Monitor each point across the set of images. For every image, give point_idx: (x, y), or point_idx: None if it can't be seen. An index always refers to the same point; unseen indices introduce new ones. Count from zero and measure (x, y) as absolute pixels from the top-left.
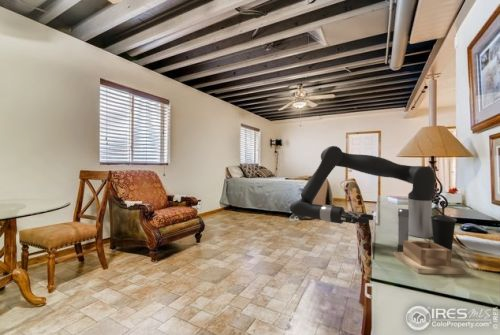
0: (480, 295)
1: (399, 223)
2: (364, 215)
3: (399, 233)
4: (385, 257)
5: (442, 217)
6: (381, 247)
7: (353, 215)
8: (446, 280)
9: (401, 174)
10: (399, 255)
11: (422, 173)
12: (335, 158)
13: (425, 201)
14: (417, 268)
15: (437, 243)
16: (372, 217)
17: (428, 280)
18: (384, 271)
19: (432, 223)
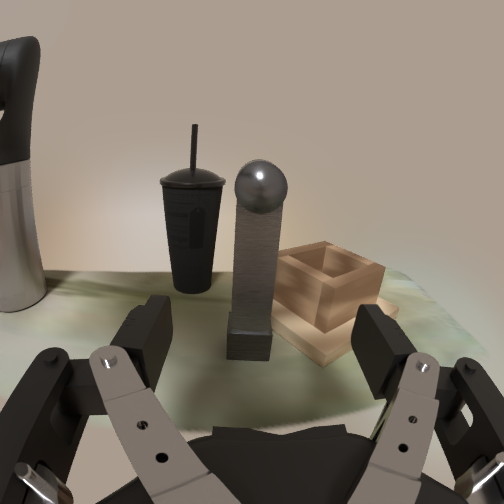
0: (389, 273)
1: (278, 238)
2: (147, 356)
3: (274, 285)
4: (362, 381)
5: (213, 174)
6: (236, 410)
7: (425, 397)
8: (379, 292)
9: None
10: (347, 339)
11: (36, 56)
12: None
13: (28, 161)
14: (397, 309)
15: (207, 261)
16: (171, 314)
17: (409, 307)
18: (458, 356)
19: (198, 203)
